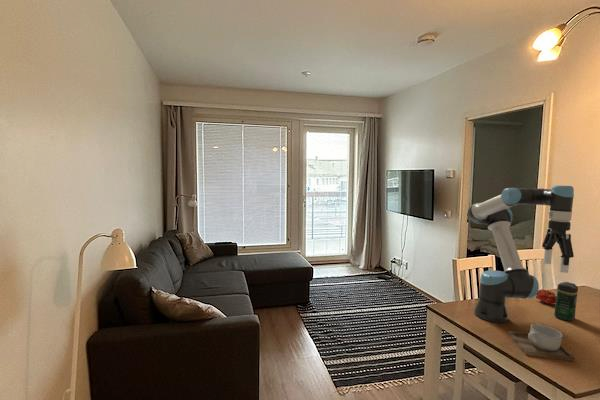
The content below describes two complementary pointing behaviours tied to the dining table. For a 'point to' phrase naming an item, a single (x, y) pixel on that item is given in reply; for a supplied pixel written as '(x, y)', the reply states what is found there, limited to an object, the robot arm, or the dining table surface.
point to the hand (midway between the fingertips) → (555, 267)
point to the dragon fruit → (546, 296)
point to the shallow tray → (532, 350)
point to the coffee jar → (566, 301)
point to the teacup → (545, 337)
